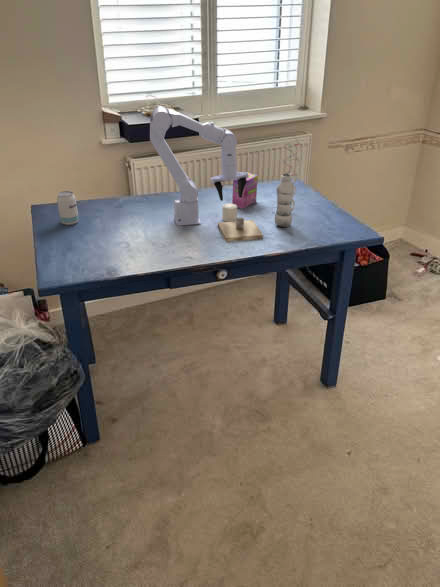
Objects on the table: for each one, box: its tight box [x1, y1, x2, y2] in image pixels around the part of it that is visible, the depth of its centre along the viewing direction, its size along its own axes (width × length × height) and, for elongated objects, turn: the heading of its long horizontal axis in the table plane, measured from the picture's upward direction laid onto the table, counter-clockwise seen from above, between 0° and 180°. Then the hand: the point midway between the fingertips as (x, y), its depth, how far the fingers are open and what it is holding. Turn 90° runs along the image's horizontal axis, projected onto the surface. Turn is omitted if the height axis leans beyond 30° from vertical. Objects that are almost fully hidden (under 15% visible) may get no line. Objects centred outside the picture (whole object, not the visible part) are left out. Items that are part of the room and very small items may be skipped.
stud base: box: [217, 216, 264, 242], centre depth 190 cm, size 14×14×6 cm
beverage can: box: [56, 190, 80, 226], centre depth 194 cm, size 7×7×12 cm
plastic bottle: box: [274, 173, 295, 228], centre depth 192 cm, size 6×7×20 cm
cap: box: [221, 202, 238, 222], centre depth 200 cm, size 5×5×6 cm
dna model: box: [282, 136, 301, 212], centre depth 201 cm, size 7×6×30 cm
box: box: [231, 172, 259, 209], centre depth 213 cm, size 10×6×12 cm, turn 143°
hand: (230, 198), depth 197 cm, fingers open, 7 cm apart
